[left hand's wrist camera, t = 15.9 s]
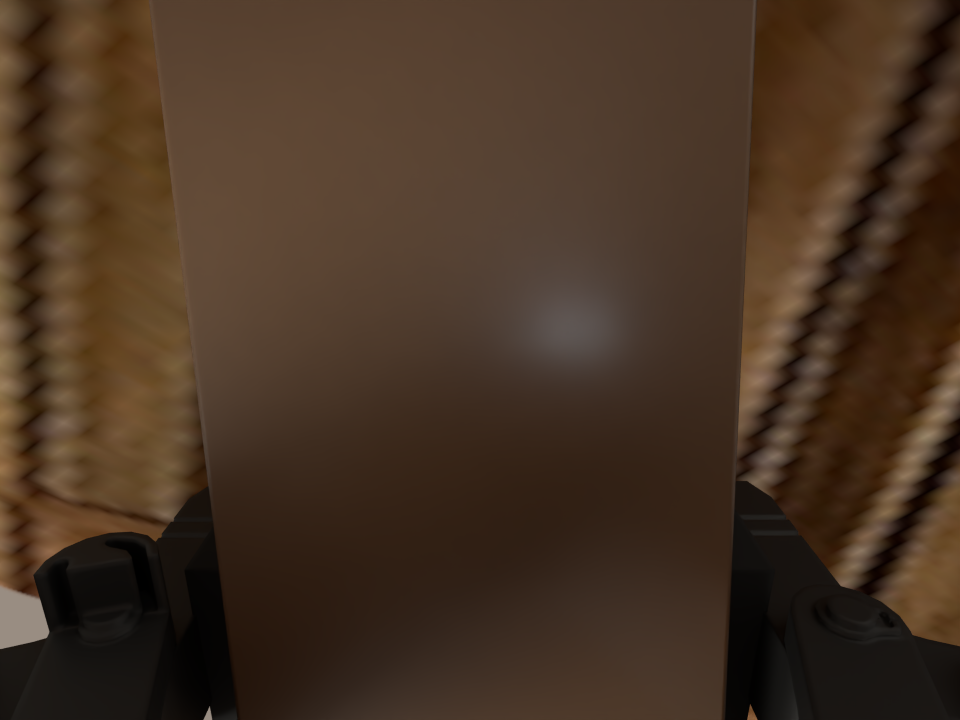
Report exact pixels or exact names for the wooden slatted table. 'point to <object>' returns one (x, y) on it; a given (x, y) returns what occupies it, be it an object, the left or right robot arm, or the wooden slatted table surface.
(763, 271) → the wooden slatted table surface
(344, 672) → the bar
